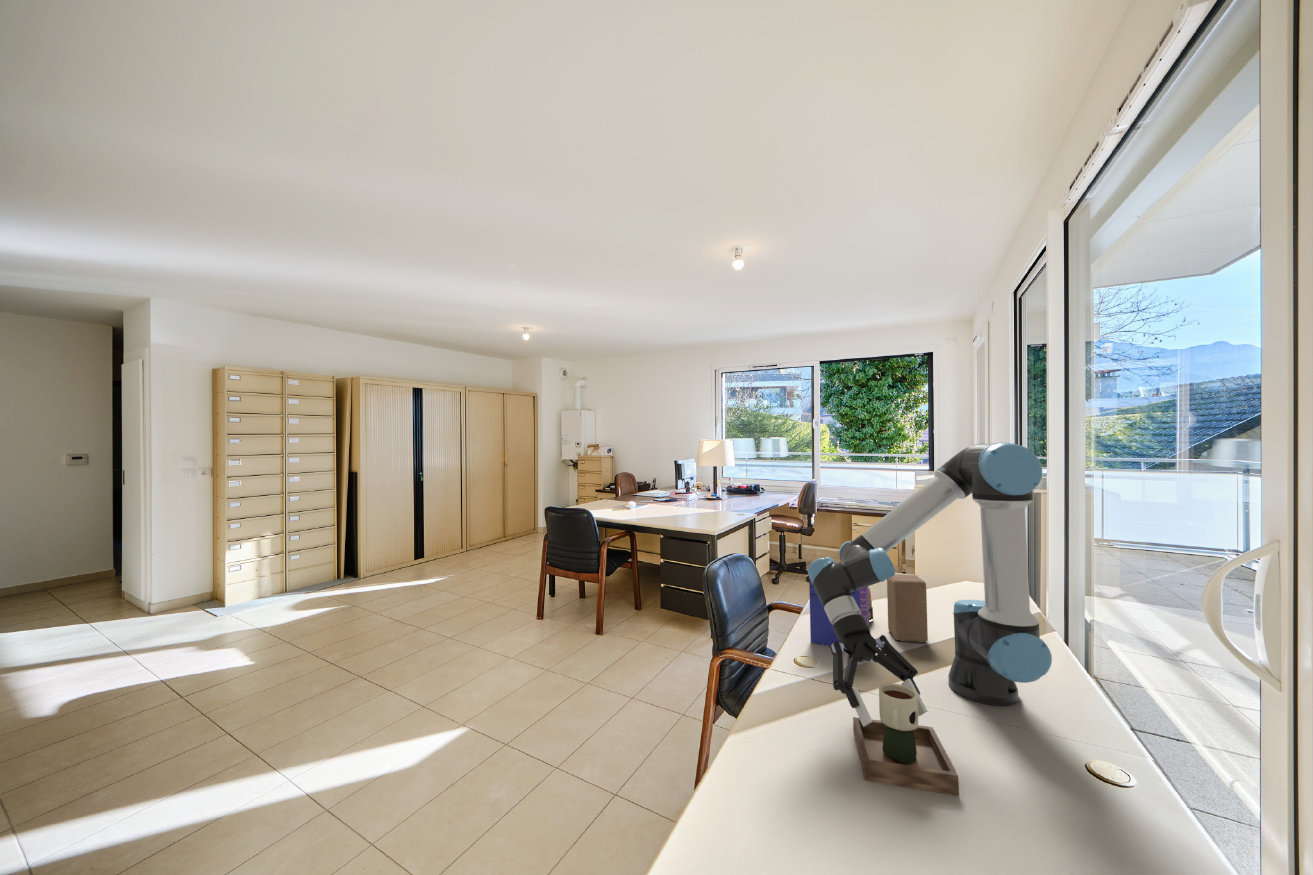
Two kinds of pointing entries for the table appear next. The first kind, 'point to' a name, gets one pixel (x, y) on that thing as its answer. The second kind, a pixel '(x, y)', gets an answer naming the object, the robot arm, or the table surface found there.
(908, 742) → the character mug
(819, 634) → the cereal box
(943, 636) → the table surface
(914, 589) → the wooden block
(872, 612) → the ammunition clip
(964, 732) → the table surface
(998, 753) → the table surface
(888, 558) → the robot arm
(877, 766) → the walnut tray
